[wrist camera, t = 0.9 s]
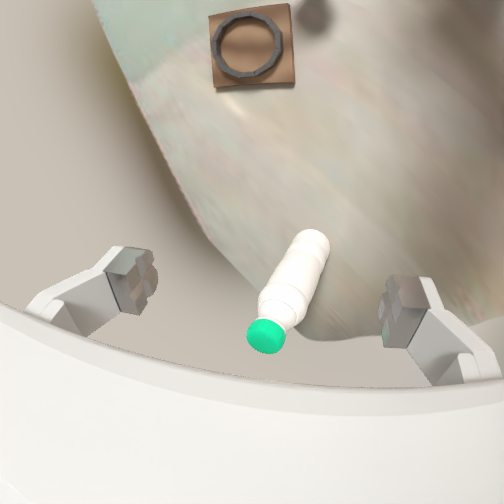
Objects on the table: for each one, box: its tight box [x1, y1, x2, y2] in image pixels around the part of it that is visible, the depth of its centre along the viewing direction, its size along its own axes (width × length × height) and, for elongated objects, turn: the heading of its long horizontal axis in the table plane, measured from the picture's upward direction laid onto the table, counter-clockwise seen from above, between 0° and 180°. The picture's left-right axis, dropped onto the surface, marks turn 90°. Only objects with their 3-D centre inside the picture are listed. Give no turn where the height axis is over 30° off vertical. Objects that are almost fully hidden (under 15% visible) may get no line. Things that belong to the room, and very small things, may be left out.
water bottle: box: [247, 229, 330, 354], centre depth 44 cm, size 7×7×25 cm
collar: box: [212, 11, 284, 78], centre depth 37 cm, size 12×12×2 cm
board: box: [209, 3, 295, 87], centre depth 38 cm, size 14×14×1 cm
